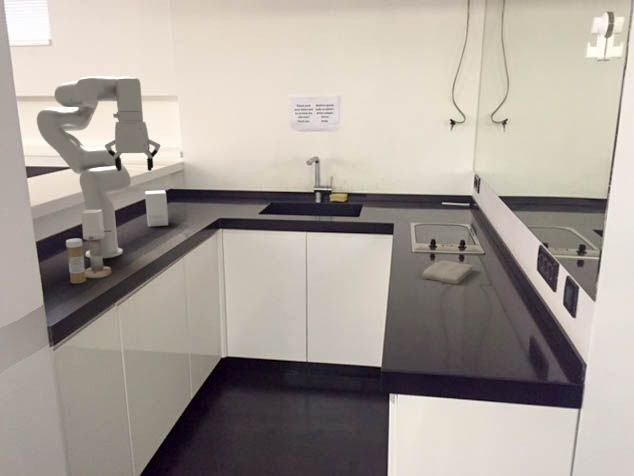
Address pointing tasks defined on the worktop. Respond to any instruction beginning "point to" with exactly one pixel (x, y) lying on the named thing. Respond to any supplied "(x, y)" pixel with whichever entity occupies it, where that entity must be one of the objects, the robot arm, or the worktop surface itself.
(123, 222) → the worktop surface
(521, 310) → the worktop surface
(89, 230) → the coupling cap
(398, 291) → the worktop surface
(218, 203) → the worktop surface
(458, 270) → the washcloth
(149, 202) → the supplement box
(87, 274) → the post base
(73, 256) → the sprinkles bottle
